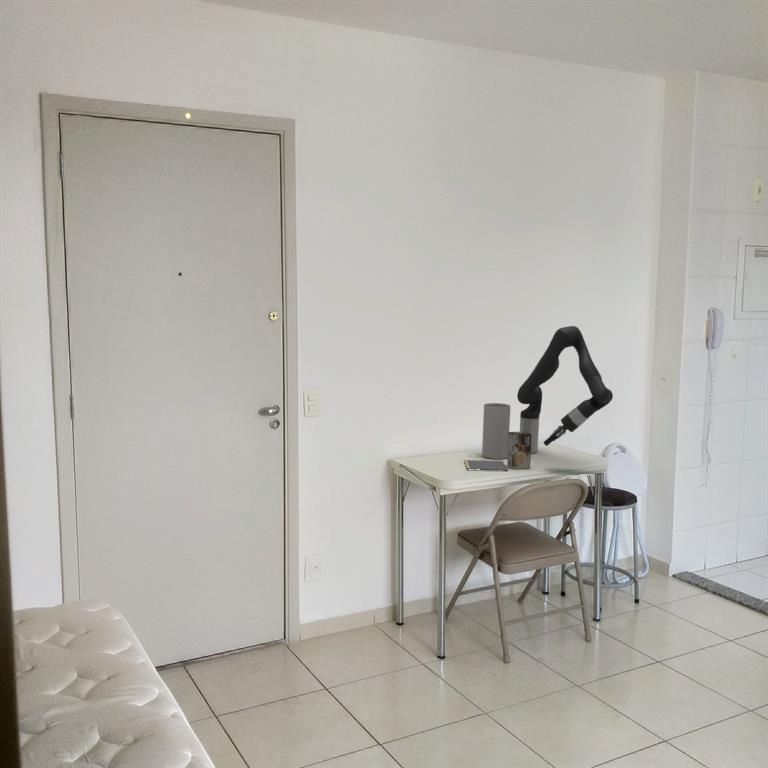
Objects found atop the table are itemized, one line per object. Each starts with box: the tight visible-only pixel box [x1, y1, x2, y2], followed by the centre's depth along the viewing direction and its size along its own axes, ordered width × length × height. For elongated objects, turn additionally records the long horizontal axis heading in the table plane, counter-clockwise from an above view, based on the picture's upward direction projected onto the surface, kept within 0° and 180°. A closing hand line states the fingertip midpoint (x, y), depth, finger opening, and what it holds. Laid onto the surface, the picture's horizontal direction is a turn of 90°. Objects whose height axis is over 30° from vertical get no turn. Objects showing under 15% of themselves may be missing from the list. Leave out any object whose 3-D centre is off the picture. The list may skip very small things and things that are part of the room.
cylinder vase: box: [481, 402, 511, 460], centre depth 378 cm, size 12×12×25 cm
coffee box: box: [506, 431, 532, 470], centre depth 359 cm, size 9×6×16 cm
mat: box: [463, 459, 509, 472], centre depth 360 cm, size 16×18×1 cm
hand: (544, 444), depth 355 cm, fingers closed
